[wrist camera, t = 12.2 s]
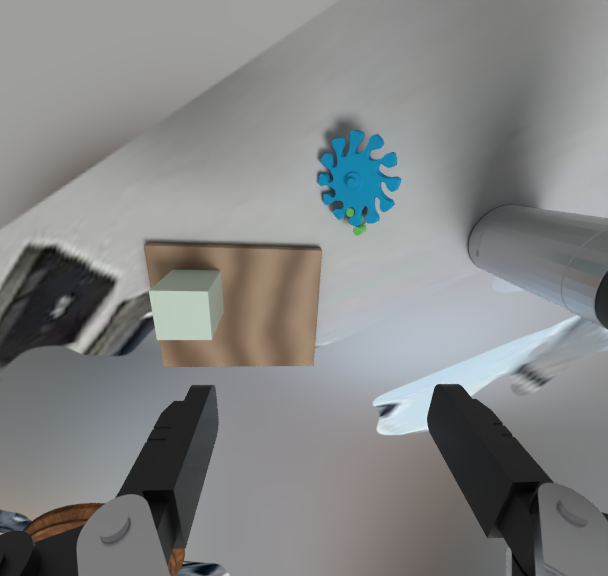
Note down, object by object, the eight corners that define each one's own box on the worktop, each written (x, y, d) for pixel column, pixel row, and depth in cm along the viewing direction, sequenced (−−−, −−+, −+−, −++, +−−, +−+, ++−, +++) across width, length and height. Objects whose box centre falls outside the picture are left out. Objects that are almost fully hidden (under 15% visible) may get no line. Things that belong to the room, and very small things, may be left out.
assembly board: (320, 247, 38) (326, 259, 33) (312, 359, 45) (316, 383, 39) (149, 242, 36) (127, 254, 31) (167, 360, 43) (152, 385, 38)
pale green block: (221, 270, 36) (207, 291, 30) (223, 312, 39) (212, 340, 32) (172, 269, 36) (148, 290, 30) (178, 311, 38) (157, 339, 32)
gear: (312, 132, 31) (399, 128, 25) (342, 129, 35) (424, 124, 29) (317, 229, 37) (389, 244, 31) (342, 217, 41) (411, 228, 35)
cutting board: (46, 483, 51) (35, 498, 49) (210, 529, 59) (207, 543, 57) (2, 574, 60) (-9, 590, 58) (150, 602, 68) (146, 618, 66)
